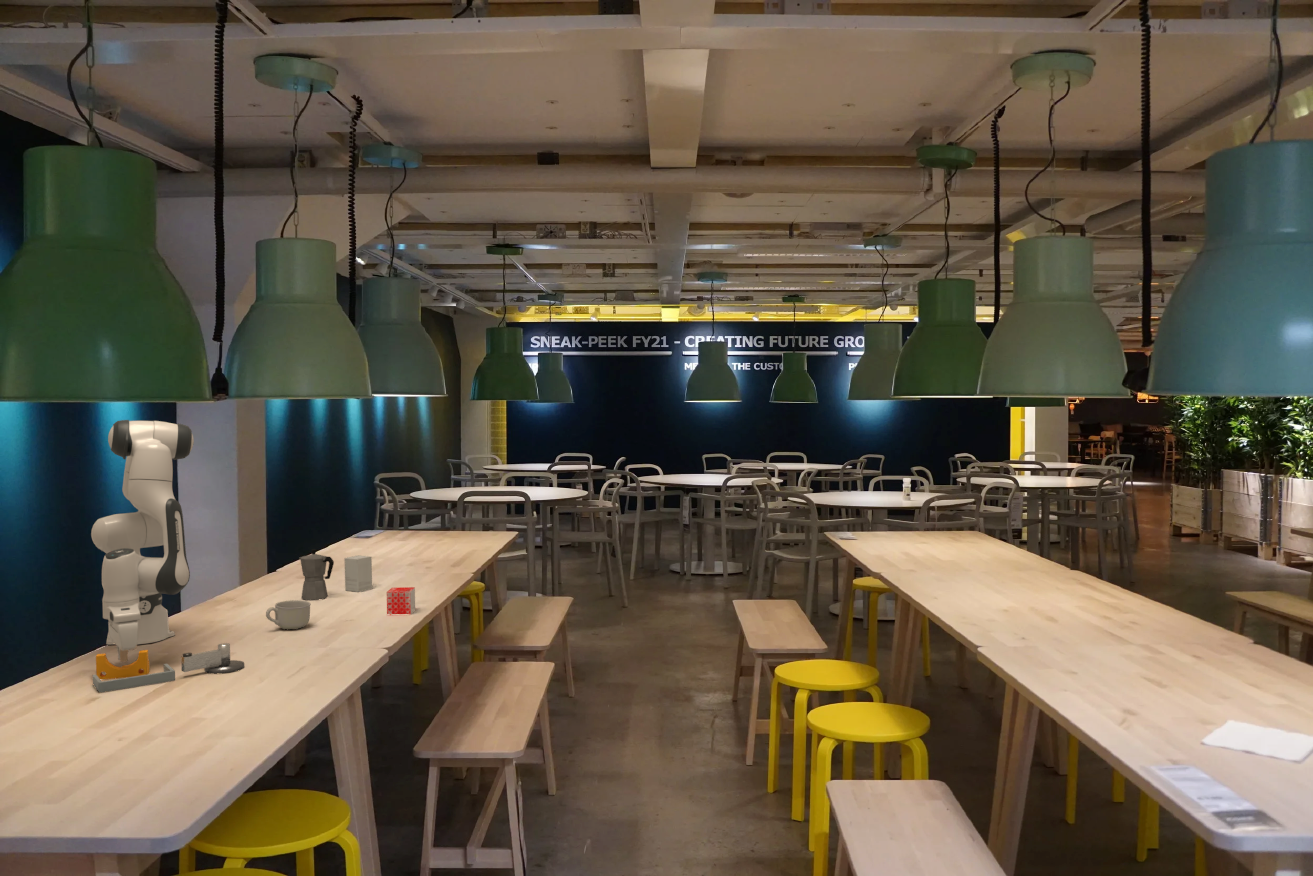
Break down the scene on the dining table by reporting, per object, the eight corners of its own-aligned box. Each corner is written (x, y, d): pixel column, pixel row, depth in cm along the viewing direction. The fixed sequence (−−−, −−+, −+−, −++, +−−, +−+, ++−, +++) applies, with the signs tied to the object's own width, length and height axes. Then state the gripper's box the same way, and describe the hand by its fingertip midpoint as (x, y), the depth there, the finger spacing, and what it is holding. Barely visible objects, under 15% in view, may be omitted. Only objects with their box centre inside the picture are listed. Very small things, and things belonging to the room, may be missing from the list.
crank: (227, 662, 279) (226, 642, 279) (232, 664, 277) (231, 644, 277) (180, 671, 270) (180, 651, 270) (185, 673, 268) (184, 653, 268)
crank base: (200, 668, 278) (200, 663, 278) (238, 662, 284) (238, 657, 284) (209, 675, 270) (209, 671, 270) (249, 669, 276) (248, 665, 276)
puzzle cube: (392, 610, 352) (391, 587, 351) (415, 610, 352) (414, 587, 351) (386, 615, 344) (386, 592, 343) (410, 615, 344) (410, 591, 344)
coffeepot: (291, 599, 372) (290, 550, 371) (309, 594, 381) (308, 546, 380) (325, 602, 366) (324, 552, 365) (342, 597, 375) (341, 548, 374)
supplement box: (373, 589, 390) (372, 556, 390) (357, 592, 384) (357, 559, 383) (359, 587, 394) (358, 554, 394) (344, 590, 388) (343, 557, 387)
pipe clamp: (149, 672, 275) (148, 648, 275) (147, 676, 271) (146, 652, 271) (99, 676, 271) (98, 652, 271) (96, 680, 267) (95, 656, 266)
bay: (92, 684, 263) (92, 674, 263) (167, 672, 273) (166, 663, 273) (99, 692, 255) (98, 683, 255) (175, 680, 266) (175, 671, 266)
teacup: (305, 622, 333) (305, 598, 333) (315, 628, 324) (314, 603, 324) (261, 628, 325) (260, 603, 325) (269, 635, 316) (269, 609, 316)
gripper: (101, 605, 281) (103, 655, 282) (115, 617, 265) (116, 670, 266) (127, 602, 285) (128, 651, 286) (141, 614, 269) (143, 666, 269)
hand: (123, 660), depth 275 cm, fingers closed
